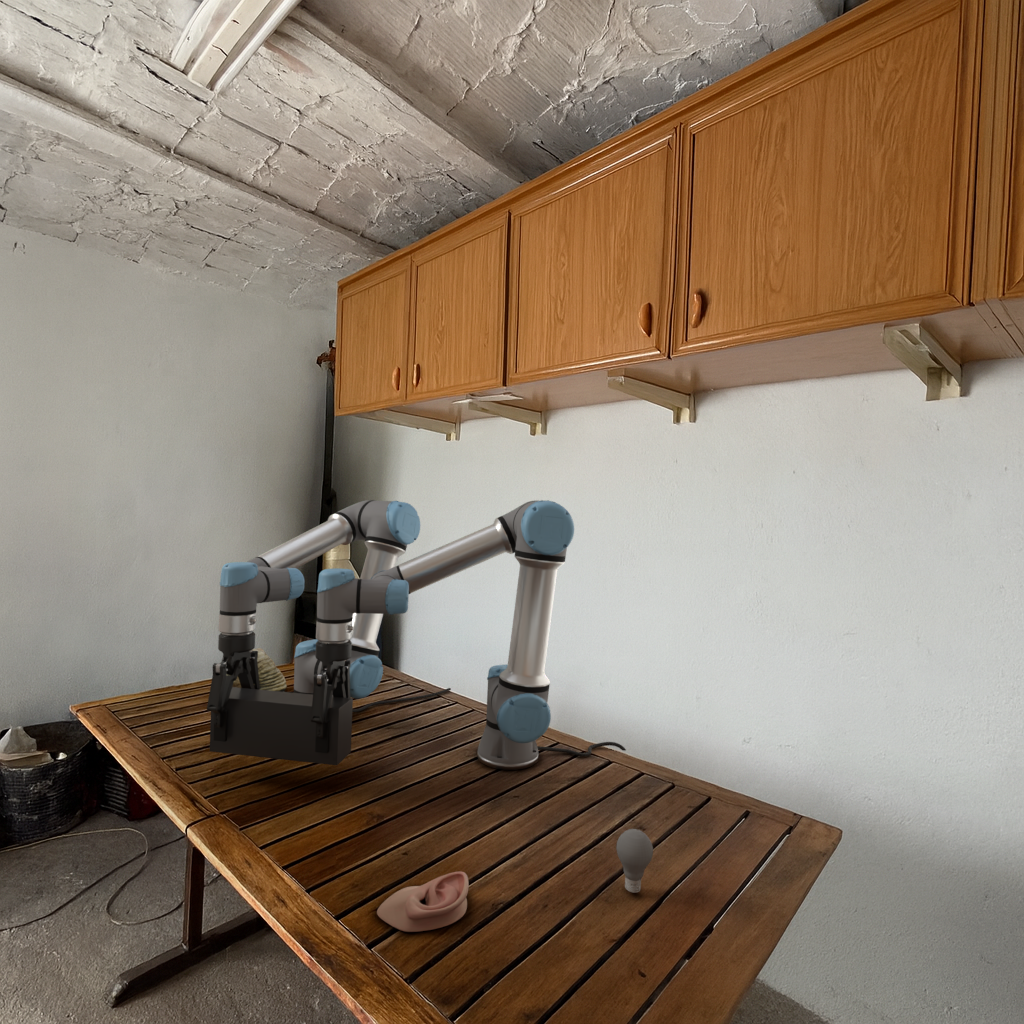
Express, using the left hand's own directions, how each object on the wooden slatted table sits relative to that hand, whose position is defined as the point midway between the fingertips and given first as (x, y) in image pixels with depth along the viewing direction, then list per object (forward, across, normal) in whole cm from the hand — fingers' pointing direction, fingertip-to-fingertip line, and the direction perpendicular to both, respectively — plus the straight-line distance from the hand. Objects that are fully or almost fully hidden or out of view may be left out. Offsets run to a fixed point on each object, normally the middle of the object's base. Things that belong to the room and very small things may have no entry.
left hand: (233, 732), depth 141 cm
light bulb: (+10, -23, -87) cm, 91 cm away
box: (+3, 0, -11) cm, 12 cm away
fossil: (+10, +53, +26) cm, 60 cm away
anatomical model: (+10, -35, -55) cm, 66 cm away
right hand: (0, 0, -23) cm, 23 cm away
